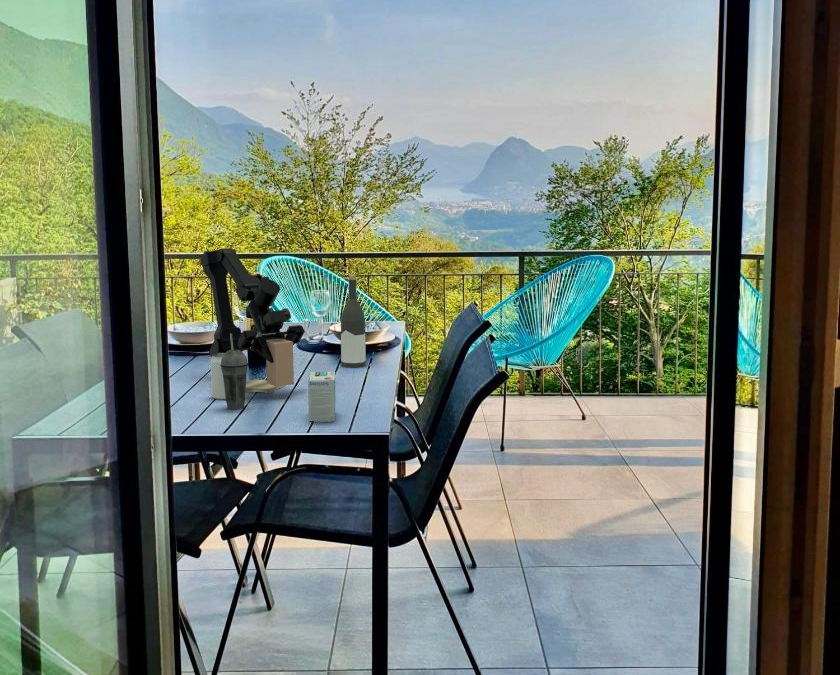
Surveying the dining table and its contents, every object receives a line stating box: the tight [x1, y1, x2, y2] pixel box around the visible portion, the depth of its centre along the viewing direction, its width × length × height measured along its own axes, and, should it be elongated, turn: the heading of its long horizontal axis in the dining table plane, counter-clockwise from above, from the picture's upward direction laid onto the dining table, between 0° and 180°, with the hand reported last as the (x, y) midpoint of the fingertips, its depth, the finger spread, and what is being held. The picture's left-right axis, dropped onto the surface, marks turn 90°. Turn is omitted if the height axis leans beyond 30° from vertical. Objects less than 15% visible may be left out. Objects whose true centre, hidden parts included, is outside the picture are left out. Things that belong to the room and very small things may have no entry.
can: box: [210, 353, 226, 400], centre depth 243 cm, size 6×6×12 cm
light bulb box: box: [307, 371, 336, 423], centre depth 222 cm, size 11×7×11 cm, turn 5°
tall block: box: [265, 339, 295, 387], centre depth 243 cm, size 6×6×12 cm
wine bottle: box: [340, 274, 367, 369], centre depth 287 cm, size 8×8×30 cm
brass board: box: [246, 378, 285, 394], centre depth 255 cm, size 11×11×1 cm
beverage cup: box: [220, 334, 249, 410], centre depth 231 cm, size 7×7×20 cm
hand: (282, 361), depth 242 cm, fingers closed on tall block, 5 cm apart
